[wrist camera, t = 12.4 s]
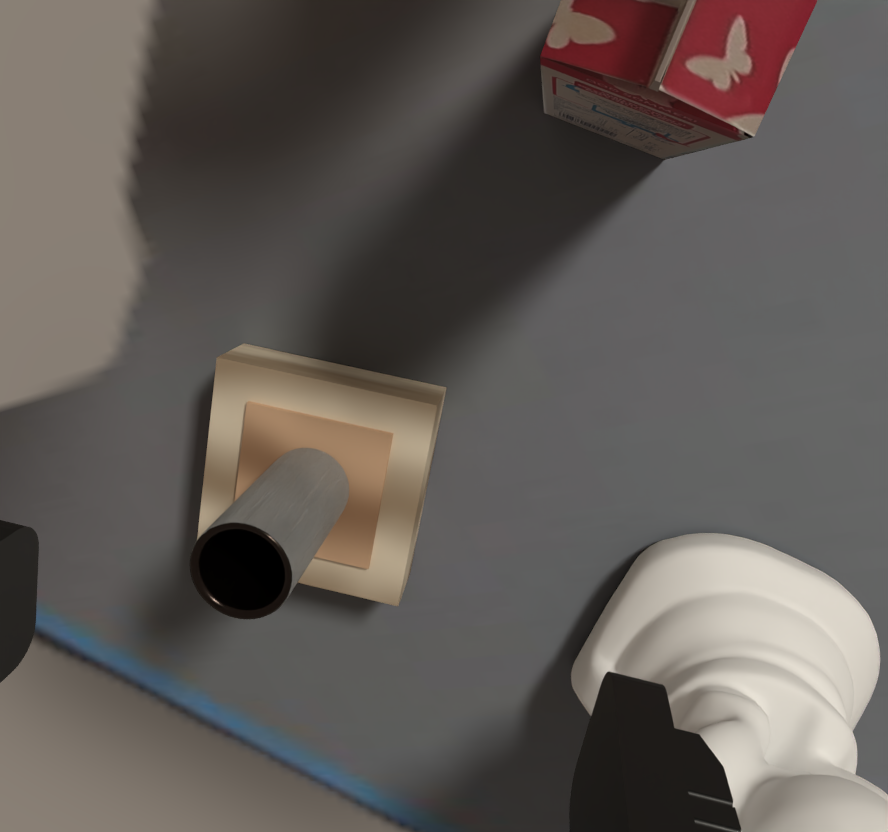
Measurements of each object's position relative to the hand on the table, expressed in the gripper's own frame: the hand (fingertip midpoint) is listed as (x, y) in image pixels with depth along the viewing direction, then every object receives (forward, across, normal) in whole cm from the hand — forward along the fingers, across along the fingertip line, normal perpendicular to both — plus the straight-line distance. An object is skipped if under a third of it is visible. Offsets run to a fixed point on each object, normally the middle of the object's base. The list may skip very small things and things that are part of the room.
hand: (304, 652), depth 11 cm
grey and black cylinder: (+30, +7, +12) cm, 33 cm away
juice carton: (+35, -4, -12) cm, 38 cm away
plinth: (+34, +7, +12) cm, 37 cm away
